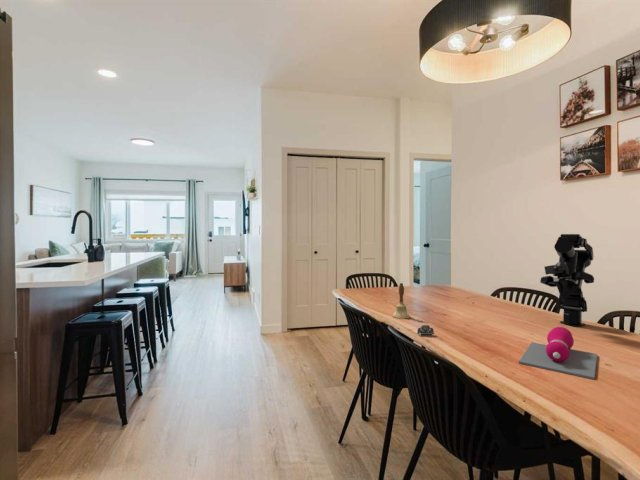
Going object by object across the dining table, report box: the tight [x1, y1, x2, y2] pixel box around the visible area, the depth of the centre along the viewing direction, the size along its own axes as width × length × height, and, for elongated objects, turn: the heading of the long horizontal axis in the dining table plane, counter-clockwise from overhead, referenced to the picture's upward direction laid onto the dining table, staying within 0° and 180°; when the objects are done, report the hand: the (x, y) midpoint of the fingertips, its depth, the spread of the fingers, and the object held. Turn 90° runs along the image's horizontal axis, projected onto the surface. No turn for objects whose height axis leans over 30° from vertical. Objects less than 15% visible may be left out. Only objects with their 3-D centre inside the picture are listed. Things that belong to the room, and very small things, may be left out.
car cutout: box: [416, 324, 435, 337], centre depth 132 cm, size 15×7×4 cm, turn 86°
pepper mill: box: [546, 326, 575, 362], centre depth 108 cm, size 7×7×20 cm
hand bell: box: [392, 282, 411, 319], centre depth 161 cm, size 8×8×16 cm
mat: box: [518, 341, 598, 380], centre depth 107 cm, size 22×18×1 cm
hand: (563, 300), depth 131 cm, fingers closed
